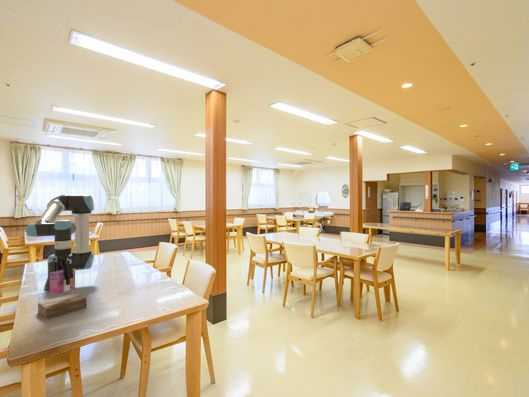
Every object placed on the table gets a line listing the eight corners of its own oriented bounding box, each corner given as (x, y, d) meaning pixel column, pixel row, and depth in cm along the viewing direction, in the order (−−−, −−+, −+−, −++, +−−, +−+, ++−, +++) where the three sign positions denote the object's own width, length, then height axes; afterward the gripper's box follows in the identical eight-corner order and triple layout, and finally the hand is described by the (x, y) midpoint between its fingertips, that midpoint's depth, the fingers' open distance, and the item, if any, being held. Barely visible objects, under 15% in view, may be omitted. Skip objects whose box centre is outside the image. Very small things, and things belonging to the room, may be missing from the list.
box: (57, 295, 140) (57, 273, 140) (49, 294, 141) (49, 272, 141) (75, 288, 150) (75, 268, 150) (67, 288, 152) (67, 267, 152)
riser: (38, 313, 143) (38, 302, 143) (76, 302, 157) (76, 292, 157) (46, 320, 135) (46, 308, 135) (86, 308, 149) (86, 297, 149)
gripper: (44, 247, 146) (44, 289, 146) (66, 250, 139) (66, 294, 139) (59, 245, 153) (59, 285, 153) (81, 248, 146) (81, 290, 146)
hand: (62, 289), depth 146 cm, fingers closed on box, 6 cm apart
